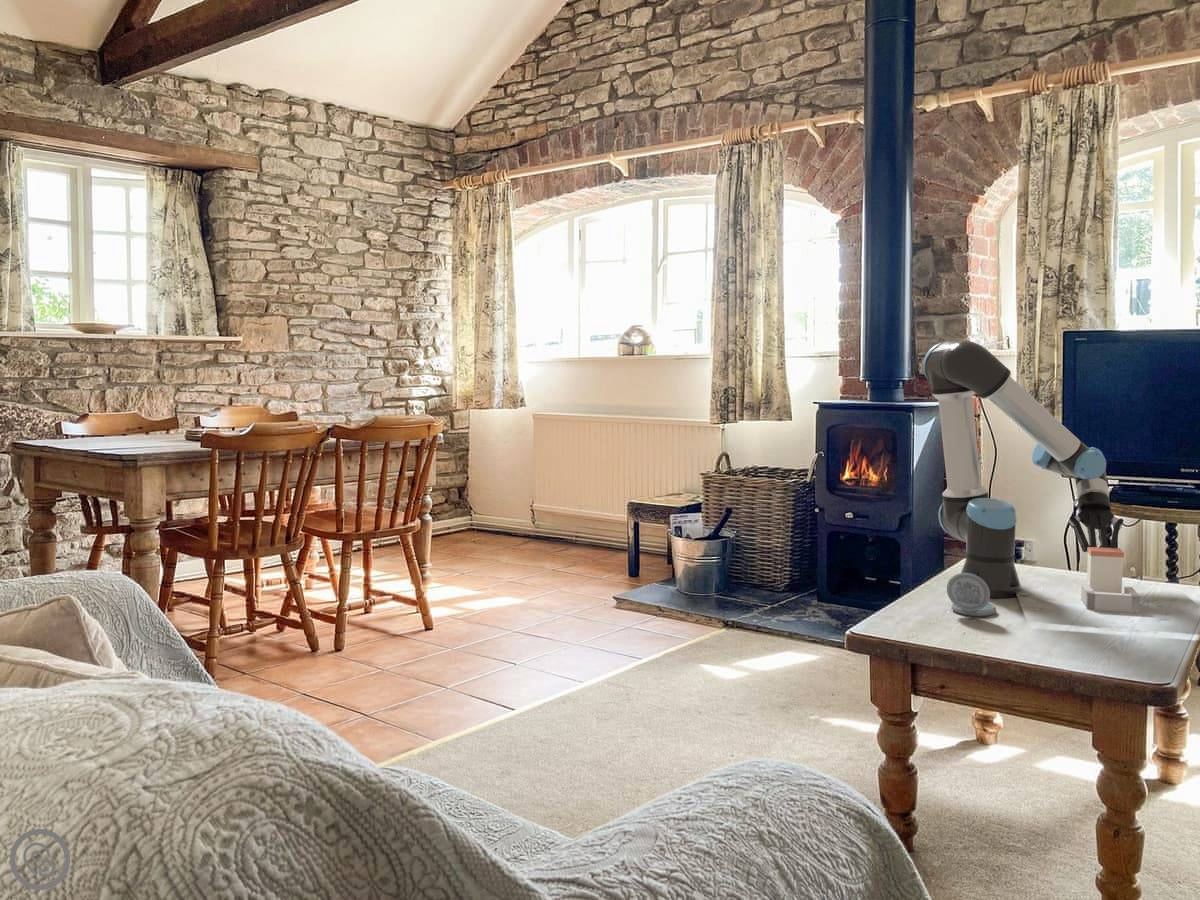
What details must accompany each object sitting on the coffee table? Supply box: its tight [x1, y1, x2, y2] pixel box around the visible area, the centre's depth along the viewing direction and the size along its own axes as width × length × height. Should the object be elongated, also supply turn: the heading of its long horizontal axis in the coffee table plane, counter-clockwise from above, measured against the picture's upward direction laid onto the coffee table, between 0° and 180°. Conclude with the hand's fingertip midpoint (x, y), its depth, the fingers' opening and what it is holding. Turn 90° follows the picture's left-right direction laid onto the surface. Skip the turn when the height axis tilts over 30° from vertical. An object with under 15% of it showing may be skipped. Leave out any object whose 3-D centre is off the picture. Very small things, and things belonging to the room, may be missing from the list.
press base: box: [1080, 583, 1141, 613], centre depth 239 cm, size 20×14×5 cm
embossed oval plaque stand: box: [946, 572, 997, 617], centre depth 235 cm, size 10×11×15 cm
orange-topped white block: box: [1086, 546, 1125, 593], centre depth 243 cm, size 5×7×12 cm
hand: (1101, 574), depth 248 cm, fingers closed
